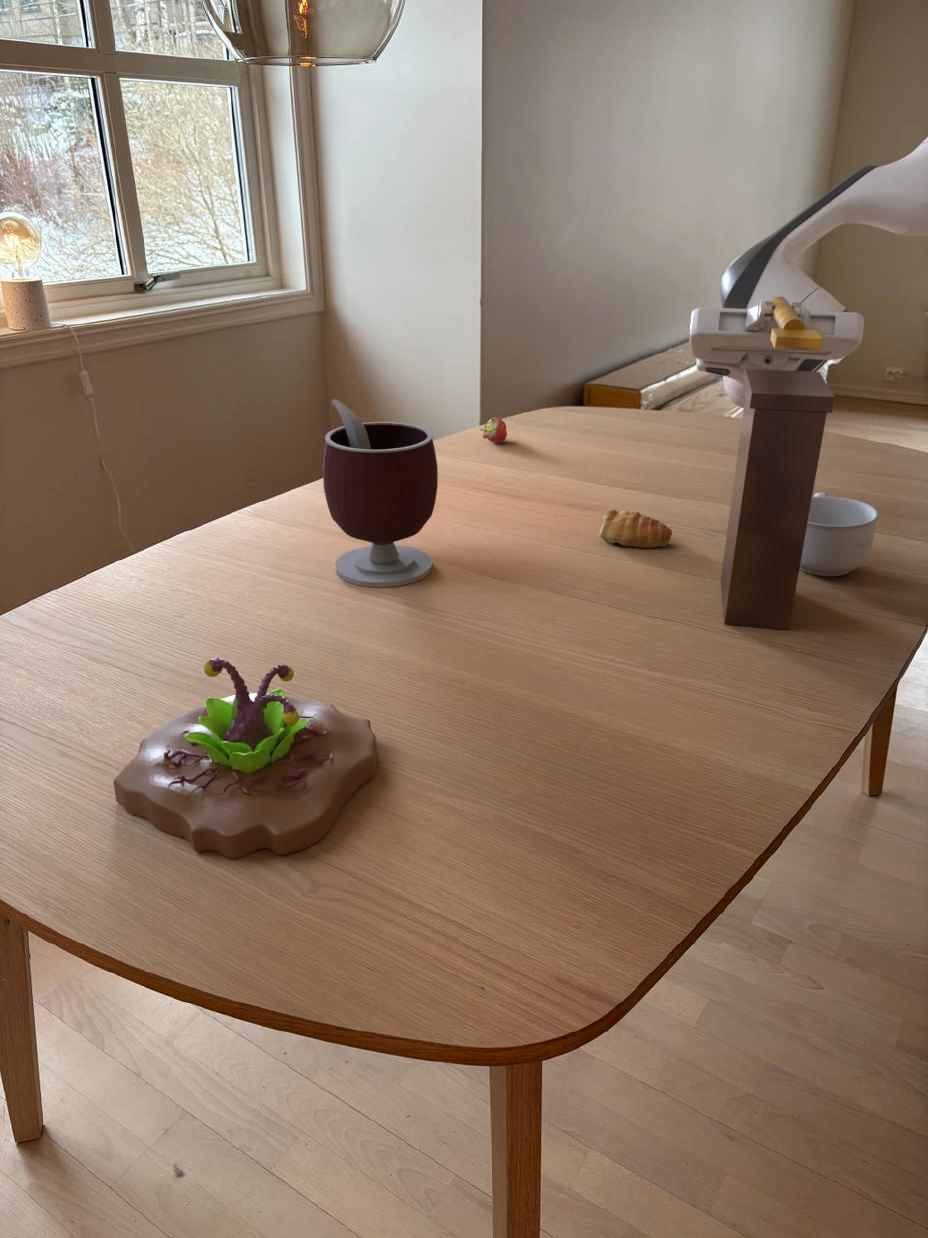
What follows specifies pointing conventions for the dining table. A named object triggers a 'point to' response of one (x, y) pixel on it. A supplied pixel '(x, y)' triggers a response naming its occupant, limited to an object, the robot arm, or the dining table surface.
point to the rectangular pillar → (772, 494)
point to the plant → (249, 769)
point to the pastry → (634, 529)
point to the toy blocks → (792, 329)
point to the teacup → (837, 535)
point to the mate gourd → (380, 496)
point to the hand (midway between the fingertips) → (783, 307)
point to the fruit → (495, 430)
